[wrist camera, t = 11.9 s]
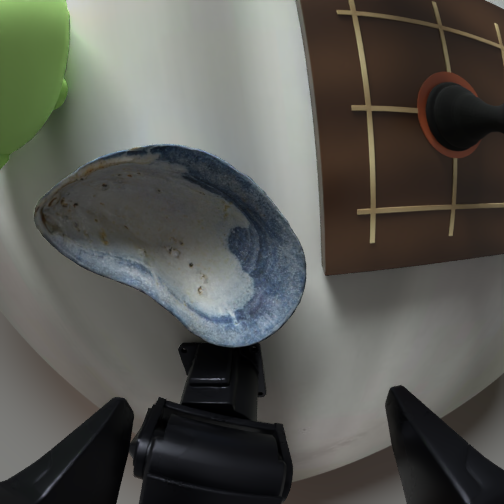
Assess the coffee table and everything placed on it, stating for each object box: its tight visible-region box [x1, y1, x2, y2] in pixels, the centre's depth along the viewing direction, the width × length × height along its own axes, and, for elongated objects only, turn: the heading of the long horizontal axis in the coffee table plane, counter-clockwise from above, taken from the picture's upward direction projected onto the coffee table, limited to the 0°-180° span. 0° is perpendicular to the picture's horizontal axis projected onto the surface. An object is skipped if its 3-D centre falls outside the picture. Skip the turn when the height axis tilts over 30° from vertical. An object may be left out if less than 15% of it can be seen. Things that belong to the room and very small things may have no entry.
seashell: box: [34, 144, 306, 348], centre depth 17 cm, size 15×12×5 cm
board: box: [296, 0, 504, 276], centre depth 14 cm, size 20×18×2 cm
